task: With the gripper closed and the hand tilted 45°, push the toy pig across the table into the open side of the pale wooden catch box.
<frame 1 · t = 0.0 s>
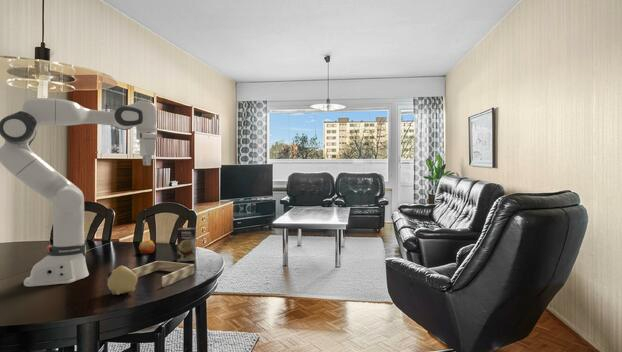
hand: (146, 165, 172), 48 cm above the table, tool pointing down, fingers open, 8 cm apart
toy pig: (121, 293, 137), on the table
coffee box: (186, 260, 188), on the table
fruit: (147, 253, 201), on the table
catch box: (160, 277, 157), on the table
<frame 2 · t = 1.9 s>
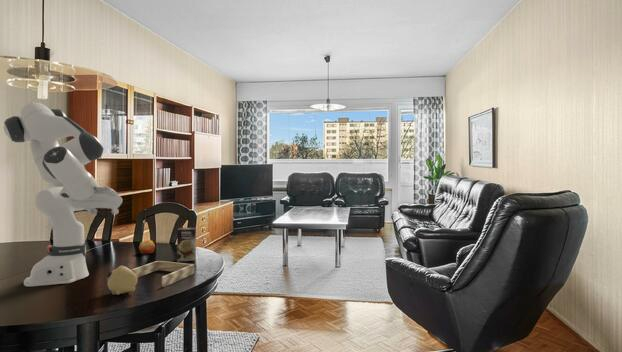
hand: (105, 212, 138), 30 cm above the table, tool tilted 45°, fingers open, 8 cm apart
nothing on the table moved.
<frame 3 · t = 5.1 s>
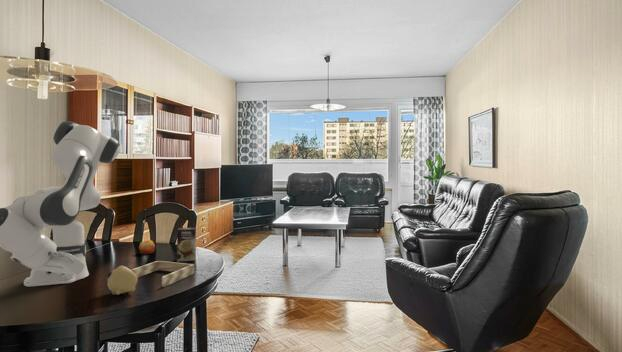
hand: (69, 275, 117), 13 cm above the table, tool tilted 45°, fingers closed
nothing on the table moved.
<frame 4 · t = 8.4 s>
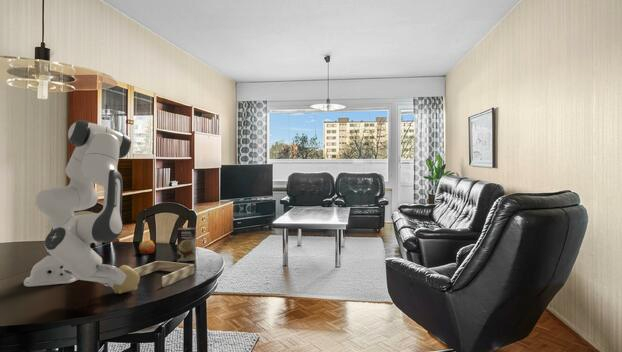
hand: (110, 284, 133), 5 cm above the table, tool tilted 45°, fingers closed, pressing on toy pig
toy pig: (124, 292, 138), on the table, touching gripper
everything else where it was.
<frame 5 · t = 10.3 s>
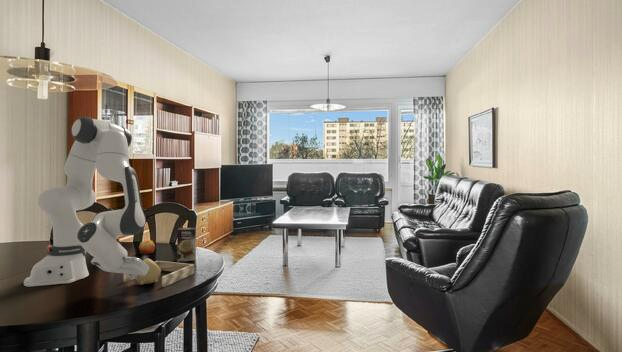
hand: (134, 276, 143), 5 cm above the table, tool tilted 45°, fingers closed, pressing on toy pig
toy pig: (147, 284, 148), on the table, touching gripper
everything else where it was.
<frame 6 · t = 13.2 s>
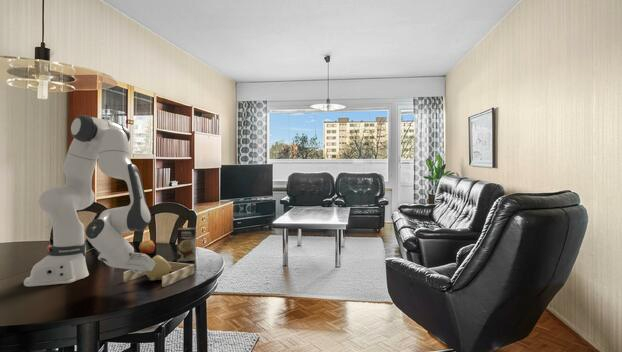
hand: (139, 271, 146), 6 cm above the table, tool tilted 45°, fingers closed
toy pig: (157, 280, 154), on the table
everything else where it was.
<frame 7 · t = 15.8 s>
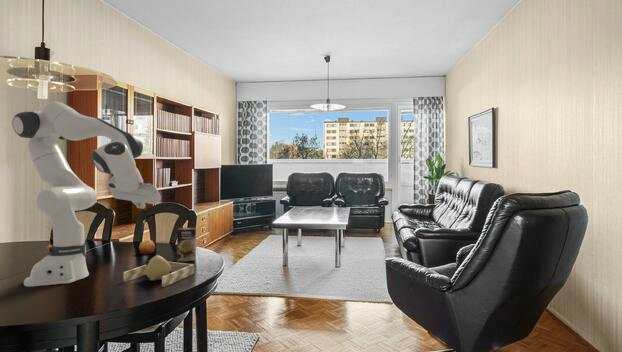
hand: (141, 207, 150), 31 cm above the table, tool tilted 35°, fingers closed
nothing on the table moved.
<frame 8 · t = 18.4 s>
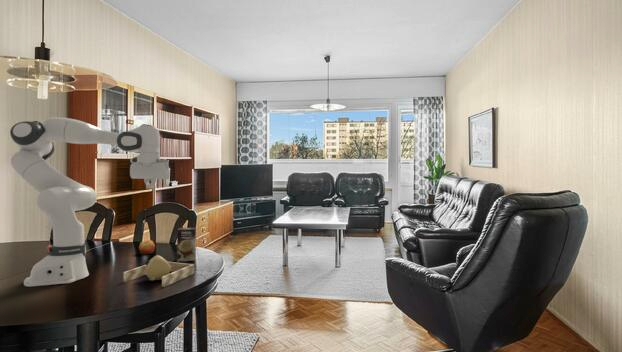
hand: (150, 188, 173), 37 cm above the table, tool pointing down, fingers closed
nothing on the table moved.
at the end: toy pig 3.4 cm from the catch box (horizontally); toy pig tilted 0°; the gripper is holding nothing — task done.
